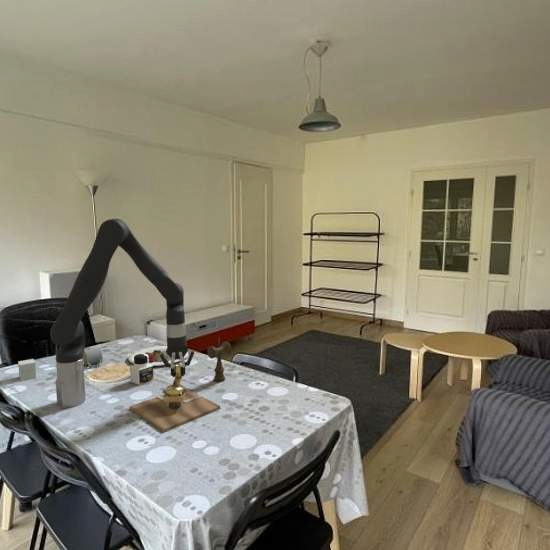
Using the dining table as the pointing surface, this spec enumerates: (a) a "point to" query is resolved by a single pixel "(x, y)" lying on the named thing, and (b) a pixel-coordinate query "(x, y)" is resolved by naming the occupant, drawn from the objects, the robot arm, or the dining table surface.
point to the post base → (174, 410)
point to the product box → (27, 369)
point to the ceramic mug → (93, 357)
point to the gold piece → (175, 387)
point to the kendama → (219, 358)
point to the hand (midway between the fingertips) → (178, 375)
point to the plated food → (153, 355)
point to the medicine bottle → (141, 370)
